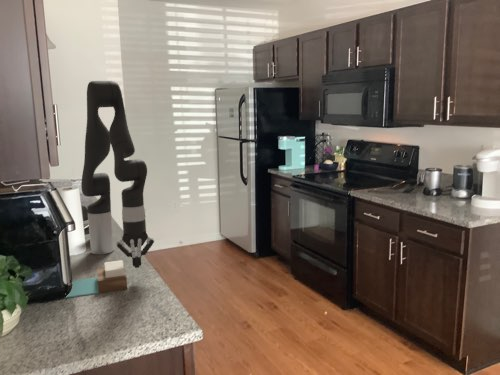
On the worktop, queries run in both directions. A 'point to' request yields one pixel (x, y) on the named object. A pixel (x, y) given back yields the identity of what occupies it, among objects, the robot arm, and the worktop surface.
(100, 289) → the board
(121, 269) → the tile
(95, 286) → the mat
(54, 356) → the worktop surface
